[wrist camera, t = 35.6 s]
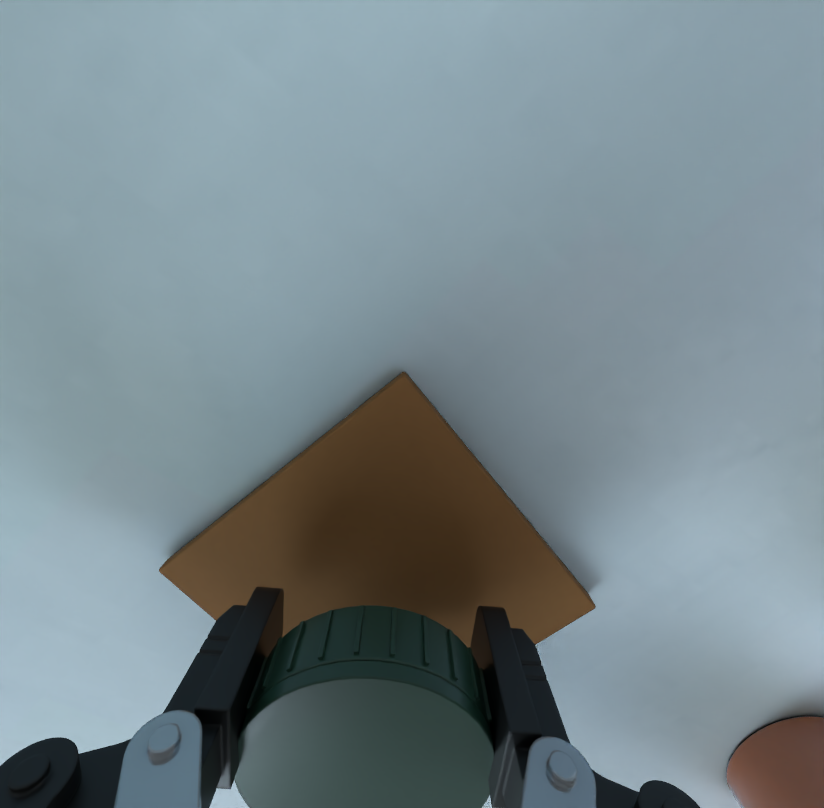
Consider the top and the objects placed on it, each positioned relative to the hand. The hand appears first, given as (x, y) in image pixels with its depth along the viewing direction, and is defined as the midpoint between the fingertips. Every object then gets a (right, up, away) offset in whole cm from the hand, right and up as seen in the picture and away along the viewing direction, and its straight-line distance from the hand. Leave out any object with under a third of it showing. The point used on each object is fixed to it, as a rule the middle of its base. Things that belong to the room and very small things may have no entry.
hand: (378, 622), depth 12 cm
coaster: (0, +1, +2) cm, 2 cm away
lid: (0, -2, -2) cm, 3 cm away
